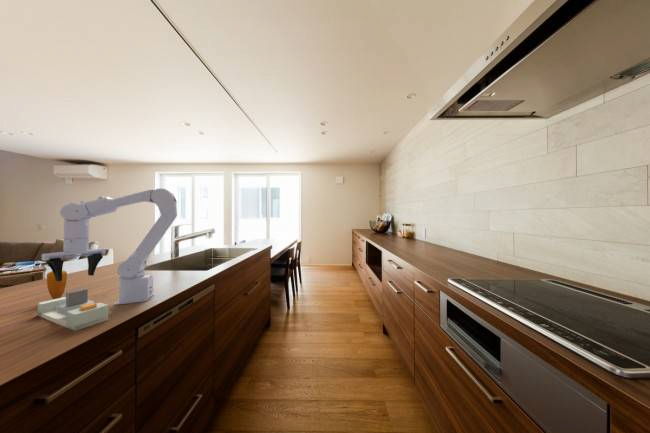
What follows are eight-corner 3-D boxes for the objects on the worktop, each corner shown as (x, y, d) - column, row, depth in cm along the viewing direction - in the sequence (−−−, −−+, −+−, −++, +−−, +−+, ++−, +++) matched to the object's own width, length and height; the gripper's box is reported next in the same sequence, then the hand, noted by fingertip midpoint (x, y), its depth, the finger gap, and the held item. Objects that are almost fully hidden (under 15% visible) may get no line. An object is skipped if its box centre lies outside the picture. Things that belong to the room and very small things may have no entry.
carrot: (51, 304, 78) (52, 262, 78) (42, 303, 79) (42, 262, 79) (70, 299, 82) (70, 260, 83) (61, 298, 83) (61, 259, 84)
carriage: (57, 312, 64) (57, 292, 64) (85, 305, 70) (85, 286, 70) (66, 316, 62) (66, 295, 62) (95, 308, 67) (95, 289, 67)
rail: (37, 315, 68) (37, 301, 68) (69, 307, 75) (70, 294, 75) (74, 330, 59) (75, 314, 59) (108, 319, 65) (108, 305, 65)
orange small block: (79, 319, 62) (79, 305, 62) (92, 315, 65) (92, 302, 65) (84, 321, 61) (84, 307, 61) (96, 317, 64) (96, 303, 64)
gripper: (98, 236, 83) (97, 271, 82) (37, 239, 69) (36, 282, 69) (108, 237, 80) (107, 273, 80) (47, 240, 67) (46, 284, 66)
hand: (75, 277), depth 74 cm, fingers open, 7 cm apart
